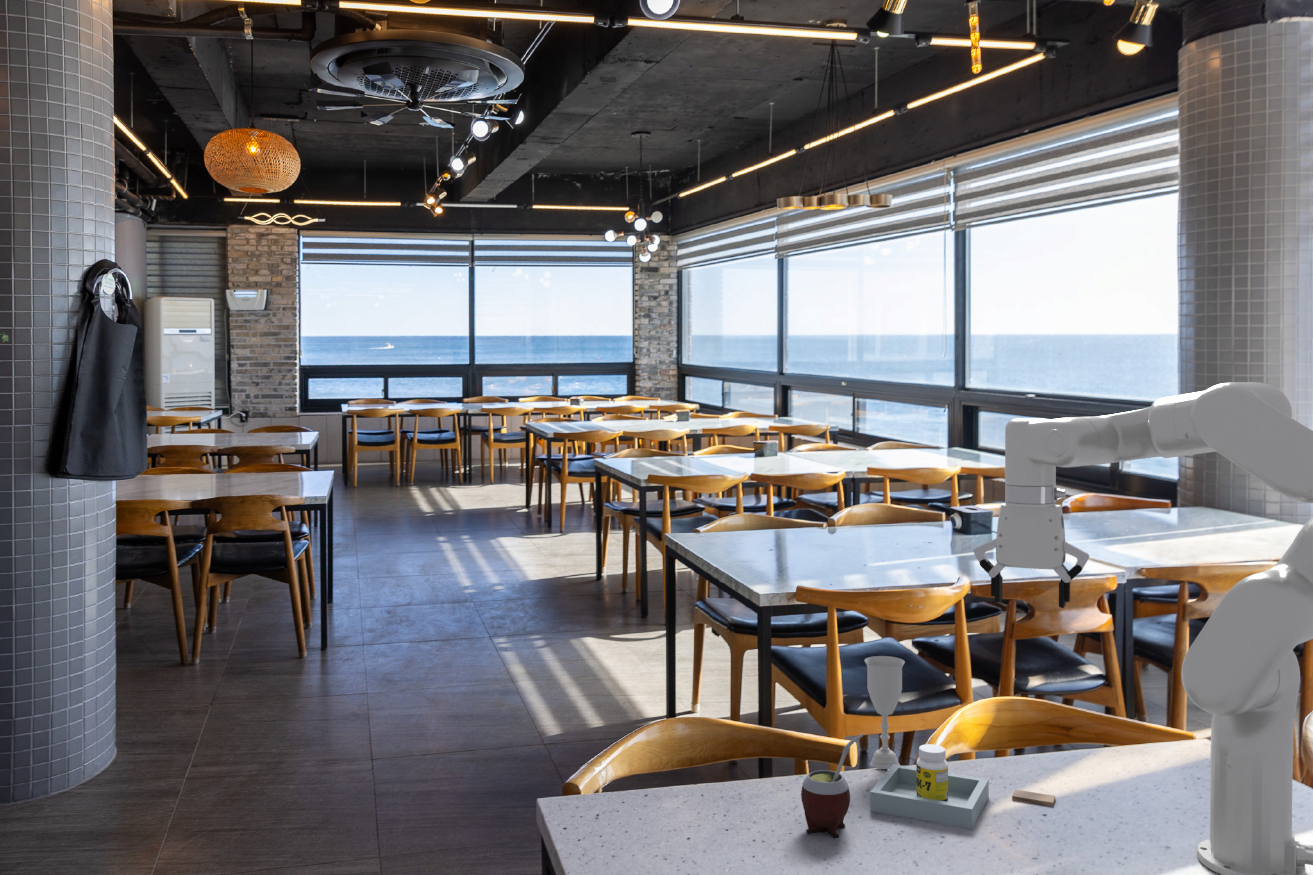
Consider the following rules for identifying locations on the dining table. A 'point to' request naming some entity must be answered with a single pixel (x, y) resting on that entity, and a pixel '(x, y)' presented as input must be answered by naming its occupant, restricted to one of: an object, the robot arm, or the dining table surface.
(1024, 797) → the walnut pad
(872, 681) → the chalice
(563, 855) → the dining table surface
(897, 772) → the tray
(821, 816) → the mate gourd
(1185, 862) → the dining table surface
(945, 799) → the supplement bottle
